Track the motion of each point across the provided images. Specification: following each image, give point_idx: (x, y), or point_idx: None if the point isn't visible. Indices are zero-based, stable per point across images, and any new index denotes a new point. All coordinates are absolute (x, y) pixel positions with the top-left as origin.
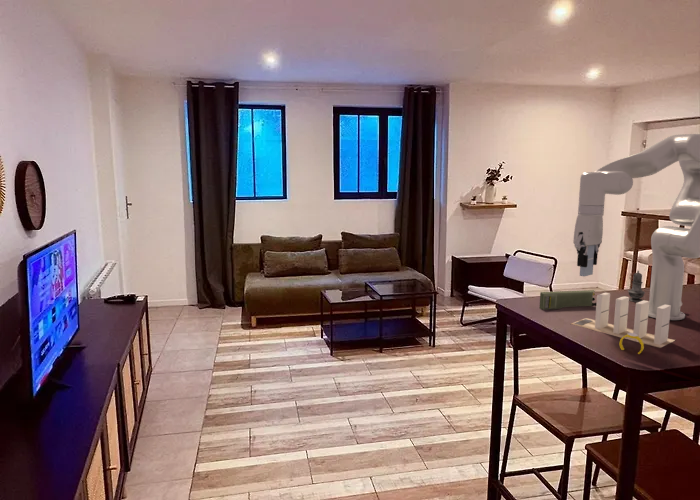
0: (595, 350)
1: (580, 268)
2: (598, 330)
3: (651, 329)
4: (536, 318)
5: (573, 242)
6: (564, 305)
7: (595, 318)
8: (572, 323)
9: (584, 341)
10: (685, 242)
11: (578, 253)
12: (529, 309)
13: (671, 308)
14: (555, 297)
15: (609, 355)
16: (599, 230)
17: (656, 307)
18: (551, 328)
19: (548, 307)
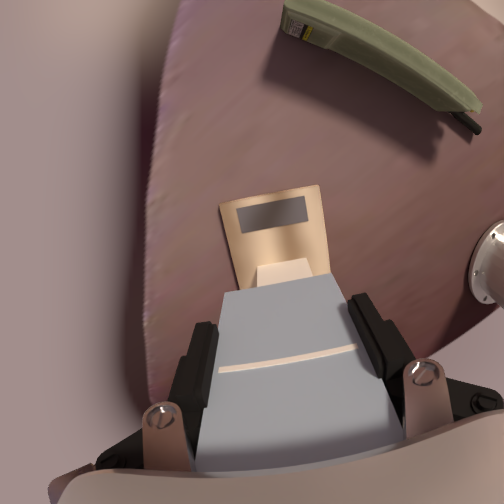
0: (148, 347)
1: (219, 324)
2: (246, 286)
3: (387, 318)
4: (182, 95)
5: (67, 485)
6: (361, 60)
7: (257, 279)
8: (229, 206)
9: (163, 306)
10: None
11: (151, 422)
12: (239, 11)
13: (495, 301)
14: (330, 37)
15: (156, 370)
16: None
17: (491, 275)
18: (153, 194)
19: (300, 37)
